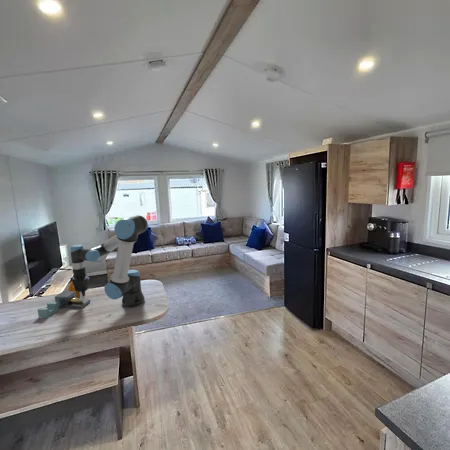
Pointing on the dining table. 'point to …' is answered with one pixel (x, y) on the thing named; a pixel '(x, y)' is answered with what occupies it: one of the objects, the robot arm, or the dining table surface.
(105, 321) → the dining table surface
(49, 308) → the v block
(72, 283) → the bracket
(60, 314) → the dining table surface
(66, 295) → the block
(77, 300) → the axle
